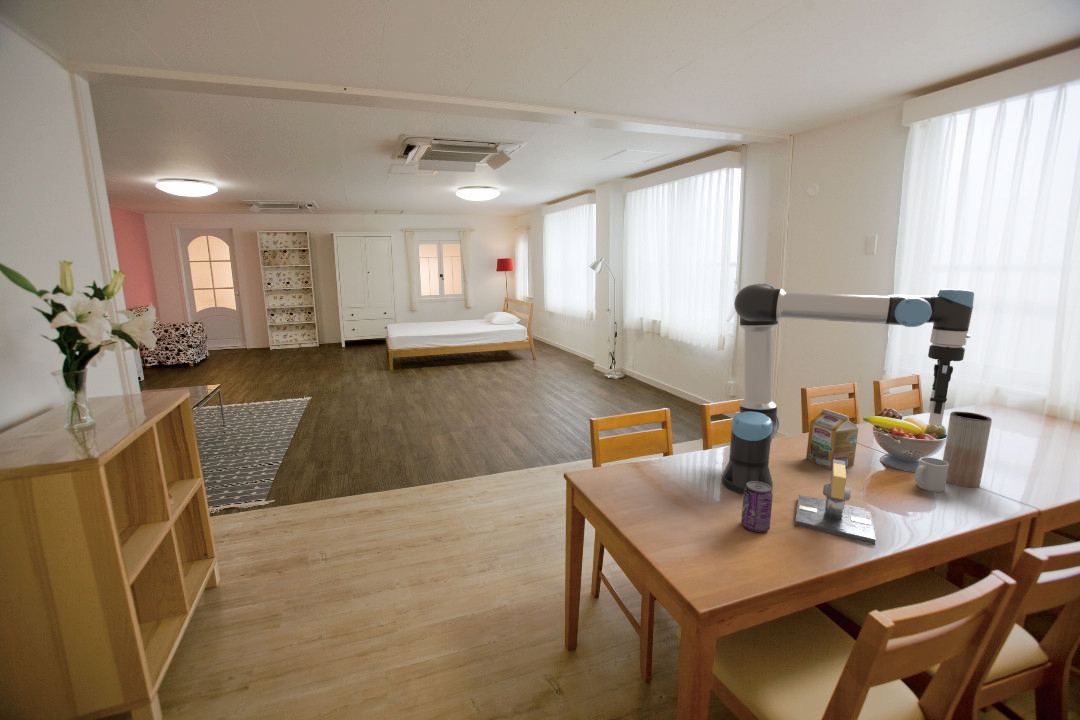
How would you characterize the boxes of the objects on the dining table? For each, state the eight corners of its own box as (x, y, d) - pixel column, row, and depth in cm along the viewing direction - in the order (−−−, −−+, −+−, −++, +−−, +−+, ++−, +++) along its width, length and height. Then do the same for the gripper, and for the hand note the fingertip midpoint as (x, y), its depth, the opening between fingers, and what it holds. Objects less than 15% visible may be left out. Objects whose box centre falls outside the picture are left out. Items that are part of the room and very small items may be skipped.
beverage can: (745, 517, 133) (748, 478, 131) (772, 526, 129) (776, 485, 127) (737, 528, 128) (740, 486, 126) (765, 537, 123) (769, 494, 121)
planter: (950, 486, 153) (962, 419, 149) (933, 473, 162) (943, 410, 158) (987, 489, 150) (1000, 421, 146) (967, 476, 160) (979, 412, 156)
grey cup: (950, 491, 149) (955, 464, 148) (925, 494, 147) (929, 467, 145) (927, 481, 156) (931, 456, 154) (903, 484, 154) (906, 458, 152)
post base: (795, 525, 129) (797, 501, 128) (798, 499, 144) (800, 477, 143) (874, 544, 120) (878, 519, 118) (869, 514, 135) (872, 491, 134)
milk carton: (806, 458, 176) (811, 409, 172) (827, 455, 179) (833, 407, 175) (830, 469, 166) (837, 417, 162) (853, 465, 169) (860, 415, 165)
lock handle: (822, 502, 127) (825, 474, 125) (822, 483, 138) (825, 457, 136) (850, 508, 123) (854, 479, 122) (848, 489, 134) (852, 462, 133)
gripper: (968, 352, 119) (953, 432, 123) (962, 341, 138) (950, 411, 142) (930, 349, 123) (917, 426, 127) (929, 339, 142) (918, 406, 146)
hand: (934, 418), depth 135 cm, fingers open, 13 cm apart
